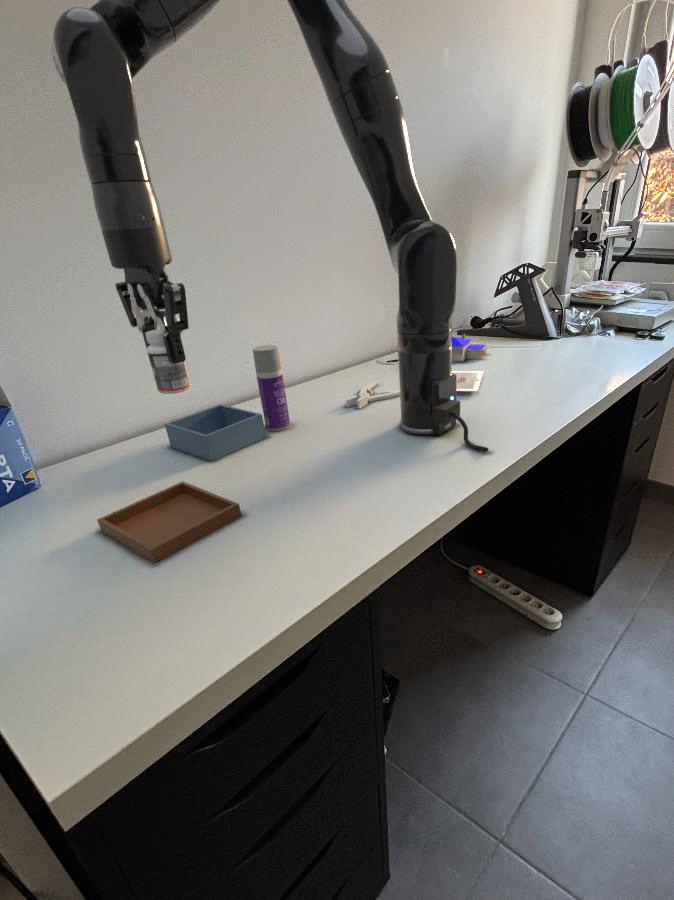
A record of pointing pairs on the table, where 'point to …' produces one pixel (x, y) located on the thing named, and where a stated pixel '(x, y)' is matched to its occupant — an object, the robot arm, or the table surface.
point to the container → (271, 387)
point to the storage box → (212, 446)
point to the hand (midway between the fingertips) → (167, 359)
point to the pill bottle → (166, 366)
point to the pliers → (365, 397)
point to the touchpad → (468, 380)
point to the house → (466, 349)
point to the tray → (169, 520)
